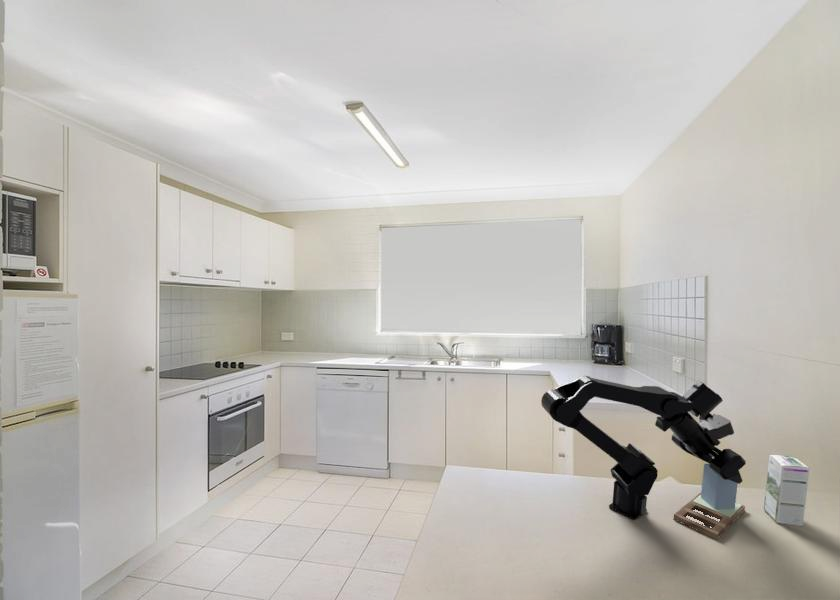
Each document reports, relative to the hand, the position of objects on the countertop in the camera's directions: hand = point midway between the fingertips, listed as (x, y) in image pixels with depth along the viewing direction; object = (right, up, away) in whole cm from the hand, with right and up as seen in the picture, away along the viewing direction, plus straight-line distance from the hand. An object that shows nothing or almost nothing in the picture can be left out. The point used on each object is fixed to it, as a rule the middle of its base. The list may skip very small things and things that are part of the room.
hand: (726, 472), depth 109 cm
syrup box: (+12, -10, -2) cm, 16 cm away
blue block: (-2, -8, +1) cm, 8 cm away
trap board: (-5, -10, -2) cm, 11 cm away
